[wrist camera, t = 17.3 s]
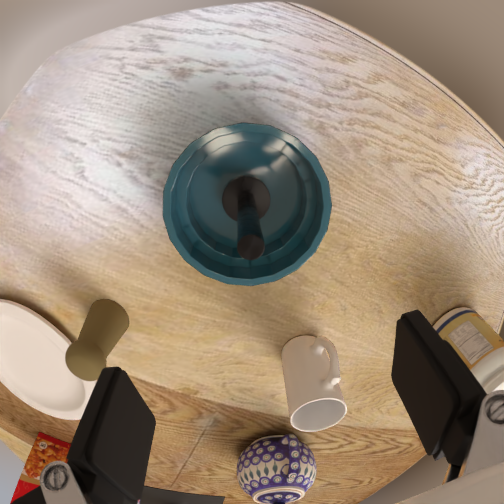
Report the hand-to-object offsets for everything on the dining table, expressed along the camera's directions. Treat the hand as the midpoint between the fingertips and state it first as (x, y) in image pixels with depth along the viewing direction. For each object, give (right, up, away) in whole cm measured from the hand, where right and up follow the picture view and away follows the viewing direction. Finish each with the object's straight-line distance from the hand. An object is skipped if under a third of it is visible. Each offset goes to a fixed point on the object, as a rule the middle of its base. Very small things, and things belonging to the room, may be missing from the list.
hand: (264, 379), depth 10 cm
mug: (+7, -9, +33) cm, 35 cm away
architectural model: (-25, -76, +60) cm, 100 cm away
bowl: (-1, +10, +24) cm, 26 cm away
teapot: (+4, -35, +44) cm, 56 cm away
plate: (-39, -15, +34) cm, 54 cm away
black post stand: (-1, +10, +23) cm, 26 cm away
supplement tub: (+33, -10, +34) cm, 49 cm away
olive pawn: (-20, -5, +30) cm, 36 cm away
